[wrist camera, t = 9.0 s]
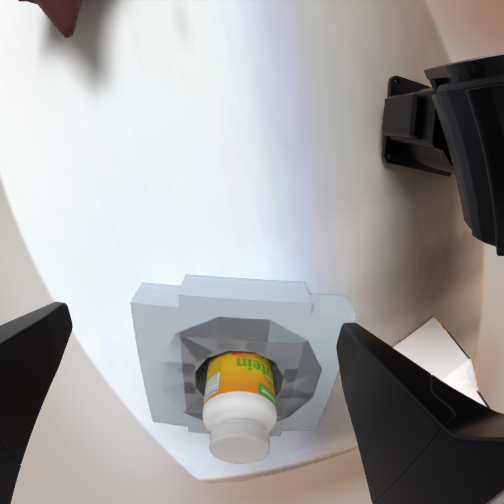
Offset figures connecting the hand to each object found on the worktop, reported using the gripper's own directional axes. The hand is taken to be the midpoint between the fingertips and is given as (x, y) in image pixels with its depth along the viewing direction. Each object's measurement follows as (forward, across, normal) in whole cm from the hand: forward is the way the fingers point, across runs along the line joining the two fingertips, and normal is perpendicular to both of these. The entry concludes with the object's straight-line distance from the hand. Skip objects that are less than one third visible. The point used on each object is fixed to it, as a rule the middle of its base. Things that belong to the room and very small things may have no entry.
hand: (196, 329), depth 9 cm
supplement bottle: (+13, -2, +13) cm, 18 cm away
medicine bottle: (+13, -20, +13) cm, 27 cm away
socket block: (+13, -2, +13) cm, 18 cm away
